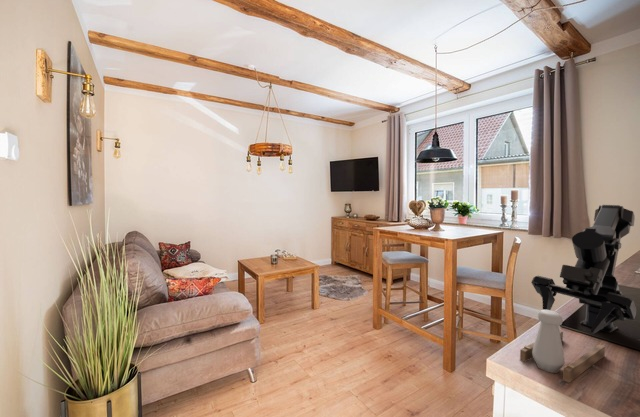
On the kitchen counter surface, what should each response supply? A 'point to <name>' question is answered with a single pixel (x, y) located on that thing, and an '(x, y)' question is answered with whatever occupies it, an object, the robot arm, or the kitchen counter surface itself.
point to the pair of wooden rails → (573, 368)
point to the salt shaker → (549, 342)
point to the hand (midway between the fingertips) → (566, 324)
